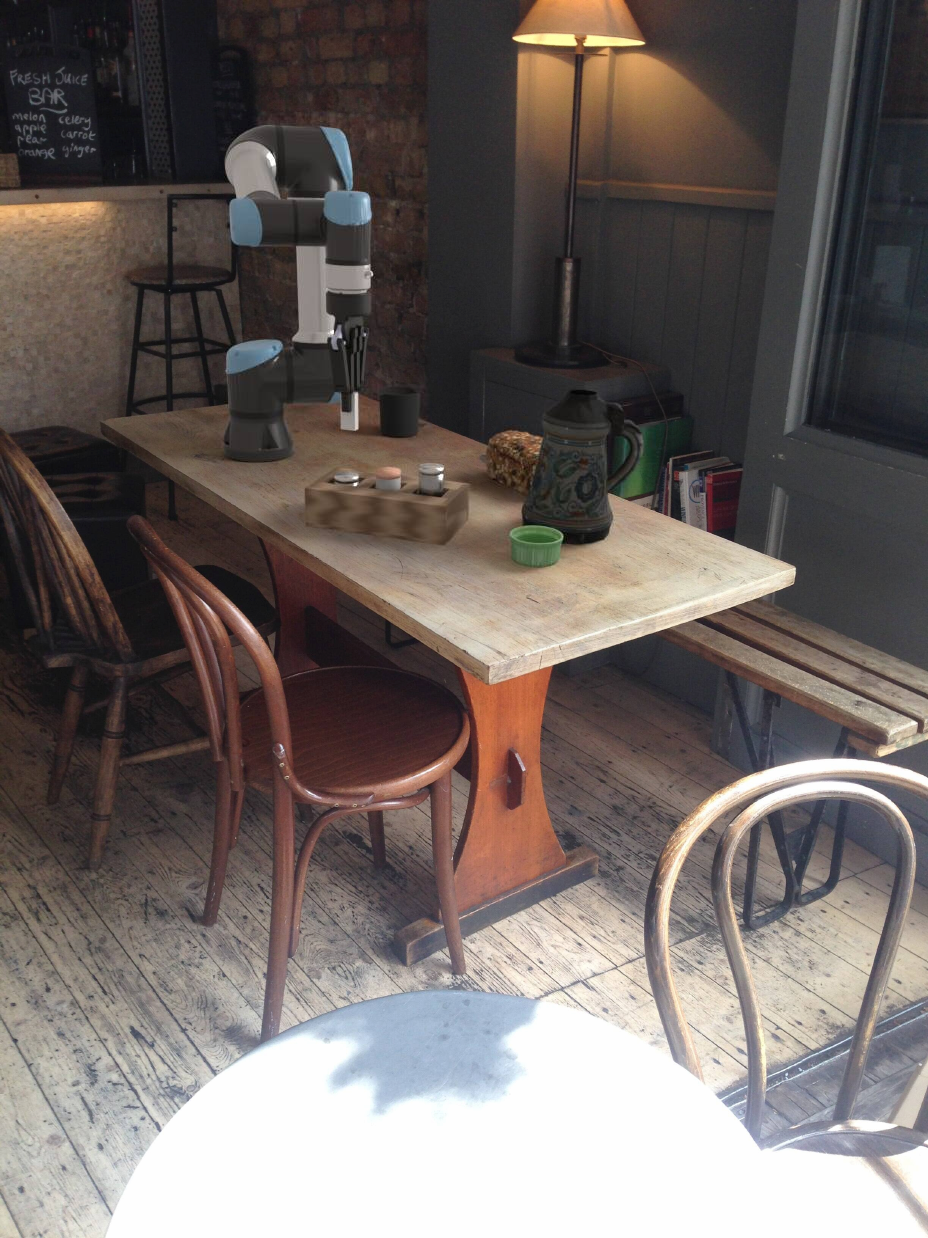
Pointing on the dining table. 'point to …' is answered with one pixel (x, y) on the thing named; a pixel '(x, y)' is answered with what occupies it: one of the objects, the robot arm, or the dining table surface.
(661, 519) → the dining table surface
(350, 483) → the plug
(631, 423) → the beer stein
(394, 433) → the pen holder
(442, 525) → the block
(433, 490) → the plug
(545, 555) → the ramekin
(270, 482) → the dining table surface
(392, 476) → the plug terracotta
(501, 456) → the bread
